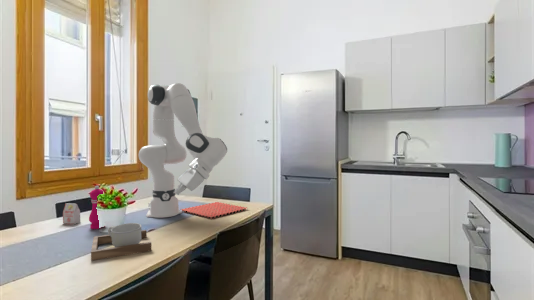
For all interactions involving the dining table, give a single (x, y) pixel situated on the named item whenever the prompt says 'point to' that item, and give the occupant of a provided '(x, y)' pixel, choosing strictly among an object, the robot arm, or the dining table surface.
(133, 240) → the teacup
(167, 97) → the robot arm
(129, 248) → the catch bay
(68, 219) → the small food carton
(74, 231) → the dining table surface
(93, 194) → the pepper mill
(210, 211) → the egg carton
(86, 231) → the dining table surface
